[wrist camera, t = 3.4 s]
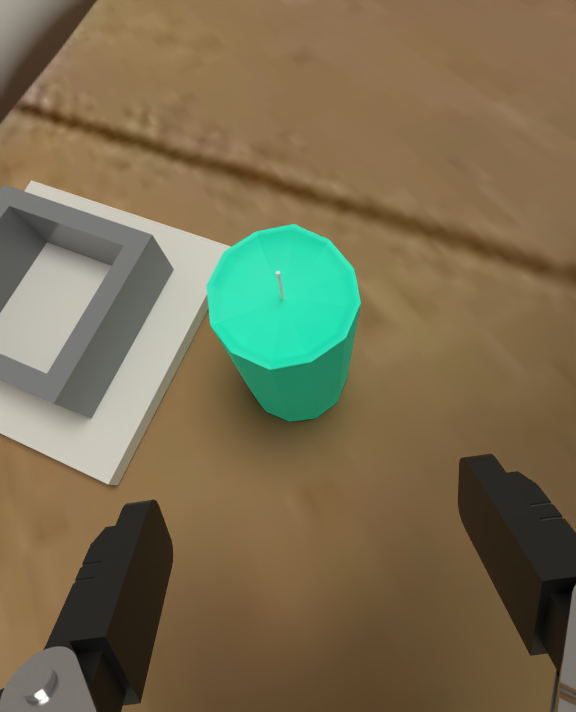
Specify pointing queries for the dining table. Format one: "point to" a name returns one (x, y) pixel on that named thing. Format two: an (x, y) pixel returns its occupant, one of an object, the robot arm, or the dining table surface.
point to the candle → (287, 318)
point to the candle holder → (92, 323)
